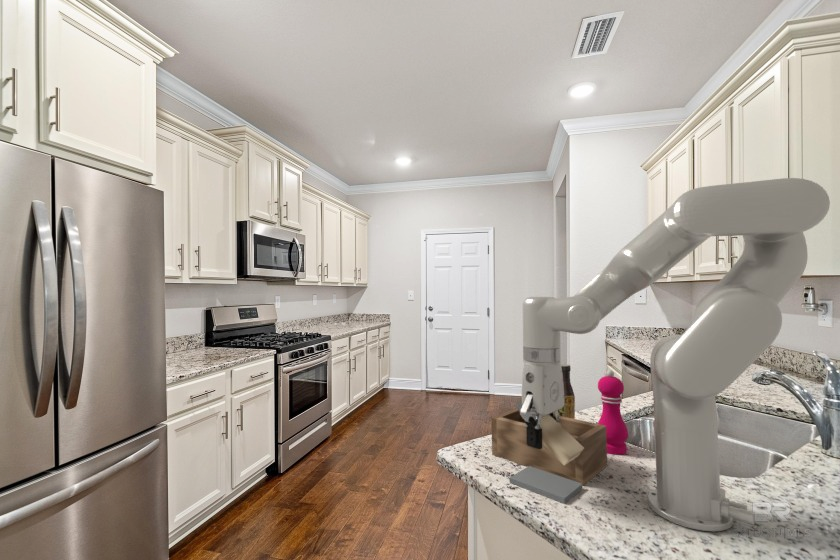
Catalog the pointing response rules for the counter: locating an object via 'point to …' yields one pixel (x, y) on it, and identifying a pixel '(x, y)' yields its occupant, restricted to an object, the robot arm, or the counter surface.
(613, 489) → the counter surface
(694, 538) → the counter surface
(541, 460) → the wooden box
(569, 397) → the sauce bottle
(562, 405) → the robot arm
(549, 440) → the maple block
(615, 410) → the pepper mill
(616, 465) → the counter surface
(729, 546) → the counter surface
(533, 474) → the slate board
